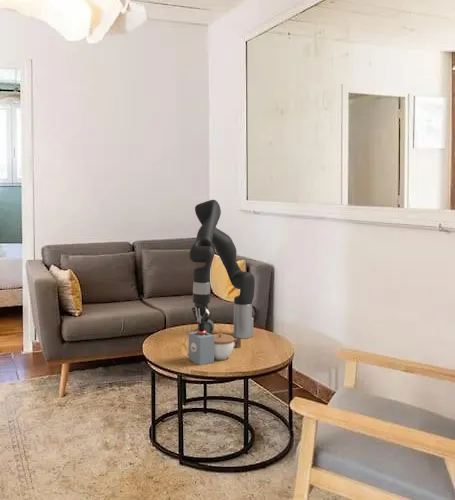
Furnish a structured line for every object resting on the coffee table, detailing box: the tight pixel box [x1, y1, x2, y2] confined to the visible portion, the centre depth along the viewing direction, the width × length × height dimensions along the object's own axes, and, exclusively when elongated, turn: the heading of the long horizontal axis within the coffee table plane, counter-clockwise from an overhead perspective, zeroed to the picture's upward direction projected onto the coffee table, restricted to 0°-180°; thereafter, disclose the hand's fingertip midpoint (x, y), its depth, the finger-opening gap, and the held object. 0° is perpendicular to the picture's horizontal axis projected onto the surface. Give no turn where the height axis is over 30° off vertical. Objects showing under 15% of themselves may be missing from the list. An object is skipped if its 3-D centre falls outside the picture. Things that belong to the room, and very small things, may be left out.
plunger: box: [197, 330, 206, 337], centre depth 258 cm, size 4×4×6 cm
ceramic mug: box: [192, 319, 215, 335], centre depth 303 cm, size 11×8×8 cm
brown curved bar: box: [234, 337, 242, 349], centre depth 274 cm, size 24×2×4 cm, turn 124°
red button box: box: [188, 331, 215, 366], centre depth 259 cm, size 8×10×12 cm
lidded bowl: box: [212, 332, 235, 361], centre depth 264 cm, size 13×13×11 cm
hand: (201, 330), depth 258 cm, fingers closed
